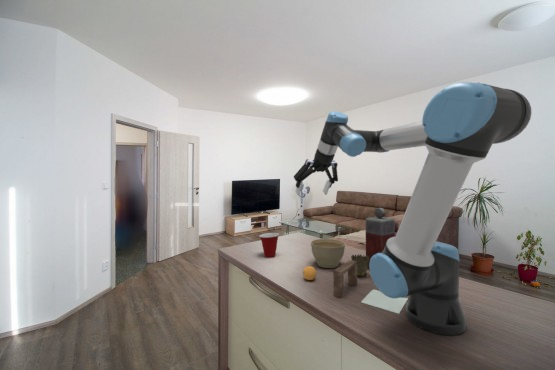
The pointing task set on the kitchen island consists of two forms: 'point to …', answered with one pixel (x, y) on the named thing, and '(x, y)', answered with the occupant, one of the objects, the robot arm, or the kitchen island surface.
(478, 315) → the kitchen island surface
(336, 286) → the bridge
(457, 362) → the kitchen island surface
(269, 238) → the plastic cup
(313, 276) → the ball
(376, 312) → the kitchen island surface
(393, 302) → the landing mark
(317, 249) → the planter bowl
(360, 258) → the green lump
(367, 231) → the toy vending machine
